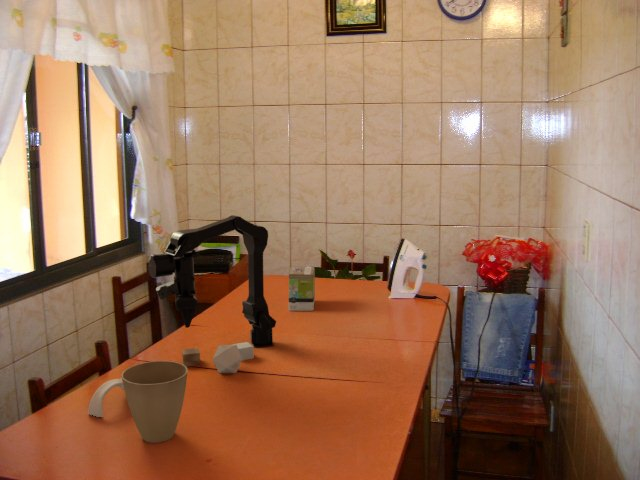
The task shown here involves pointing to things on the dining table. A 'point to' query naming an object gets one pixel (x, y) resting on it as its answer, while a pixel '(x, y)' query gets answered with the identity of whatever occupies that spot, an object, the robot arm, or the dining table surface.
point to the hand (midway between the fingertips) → (186, 323)
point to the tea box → (301, 288)
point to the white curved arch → (102, 396)
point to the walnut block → (191, 357)
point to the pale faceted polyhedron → (227, 359)
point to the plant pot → (155, 397)
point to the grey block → (245, 350)
